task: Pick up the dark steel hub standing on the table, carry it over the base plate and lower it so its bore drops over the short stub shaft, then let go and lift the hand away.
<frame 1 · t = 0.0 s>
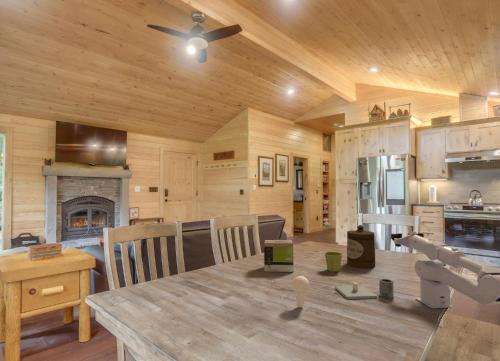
hand: (399, 235, 129), 22 cm above the table, tool horizontal, fingers open, 7 cm apart
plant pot: (333, 270, 152), on the table
wooden container: (361, 265, 164), on the table
shaft plate: (355, 293, 119), on the table
tea box: (278, 270, 154), on the table
lightbulb: (300, 308, 105), on the table
hub: (386, 295, 116), on the table
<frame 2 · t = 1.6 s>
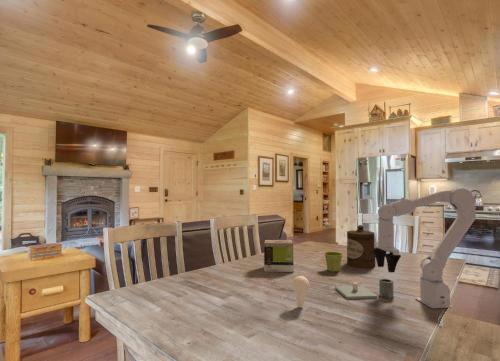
hand: (385, 269, 117), 10 cm above the table, tool pointing down, fingers open, 7 cm apart
nothing on the table moved.
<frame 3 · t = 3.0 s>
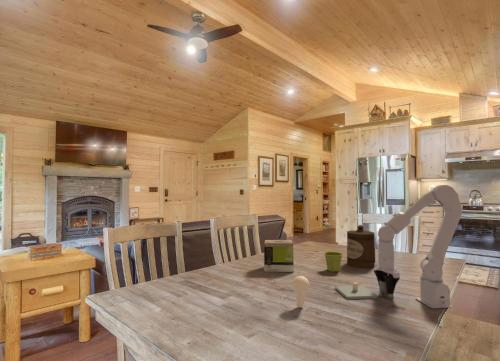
hand: (386, 291, 116), 2 cm above the table, tool pointing down, fingers closed on hub, 5 cm apart
hub: (386, 295, 116), on the table, touching gripper
everything else where it was.
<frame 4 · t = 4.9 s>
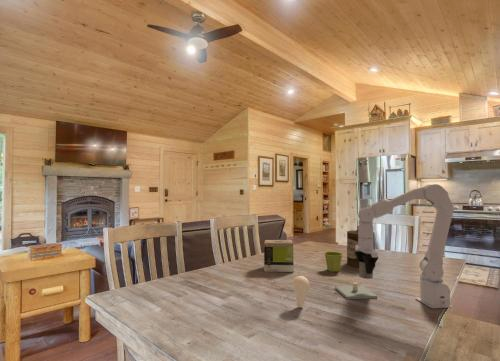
hand: (365, 271, 119), 9 cm above the table, tool pointing down, fingers closed on hub, 5 cm apart
hub: (365, 276, 118), point 7 cm above the table, touching gripper
everything else where it was.
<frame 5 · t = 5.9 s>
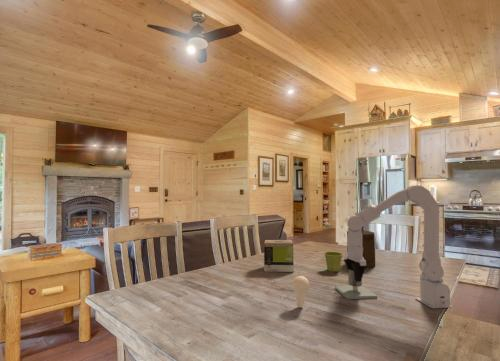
hand: (355, 279, 119), 6 cm above the table, tool pointing down, fingers closed on hub, 5 cm apart
hub: (355, 284, 119), point 4 cm above the table, touching gripper
everything else where it was.
when the fingers open (4 cm above the table, at t = 6.7 s): hub stays where it is, resting on shaft plate.
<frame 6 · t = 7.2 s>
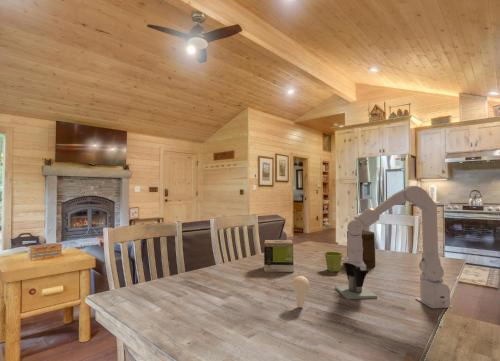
hand: (355, 283, 119), 4 cm above the table, tool pointing down, fingers open, 7 cm apart
hub: (355, 290, 119), point 1 cm above the table, touching shaft plate
everything else where it was.
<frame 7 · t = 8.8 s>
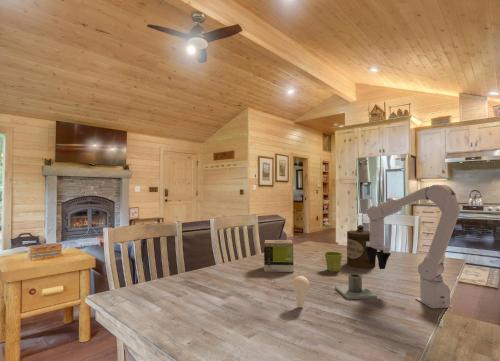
hand: (377, 266, 125), 9 cm above the table, tool pointing down, fingers open, 7 cm apart
nothing on the table moved.
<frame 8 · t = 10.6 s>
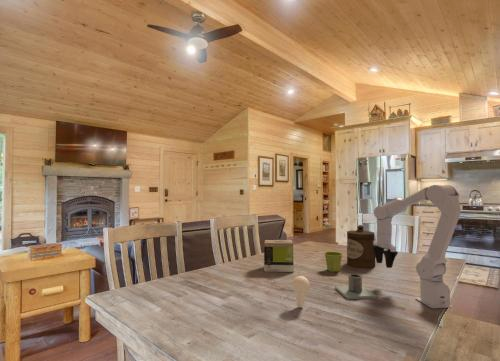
hand: (384, 265, 127), 9 cm above the table, tool pointing down, fingers open, 7 cm apart
nothing on the table moved.
at the end: hub 0.0 cm off-centre on the shaft plate, point 1.0 cm above the shaft plate's base; hub tilted 0°; the gripper is holding nothing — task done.
